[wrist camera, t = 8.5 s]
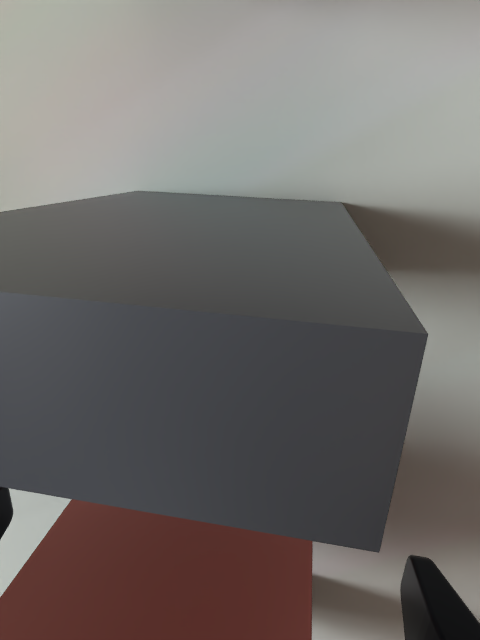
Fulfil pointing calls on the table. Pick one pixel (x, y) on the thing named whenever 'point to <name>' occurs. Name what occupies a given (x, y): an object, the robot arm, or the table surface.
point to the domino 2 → (158, 581)
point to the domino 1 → (206, 362)
